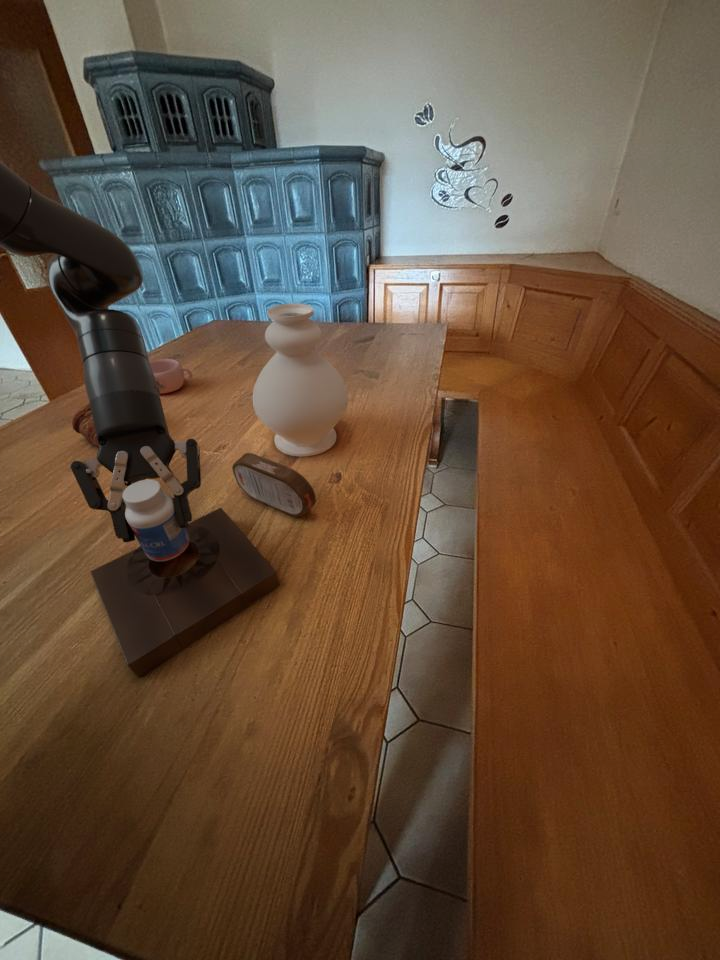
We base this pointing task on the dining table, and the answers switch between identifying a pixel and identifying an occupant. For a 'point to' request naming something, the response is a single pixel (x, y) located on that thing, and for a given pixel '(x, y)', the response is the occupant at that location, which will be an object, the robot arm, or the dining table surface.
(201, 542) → the base pad
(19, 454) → the dining table surface
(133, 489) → the pill bottle
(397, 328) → the dining table surface
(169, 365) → the mug
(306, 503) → the tin
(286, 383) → the decorative vase
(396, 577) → the dining table surface
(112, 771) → the dining table surface
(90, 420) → the pastry
